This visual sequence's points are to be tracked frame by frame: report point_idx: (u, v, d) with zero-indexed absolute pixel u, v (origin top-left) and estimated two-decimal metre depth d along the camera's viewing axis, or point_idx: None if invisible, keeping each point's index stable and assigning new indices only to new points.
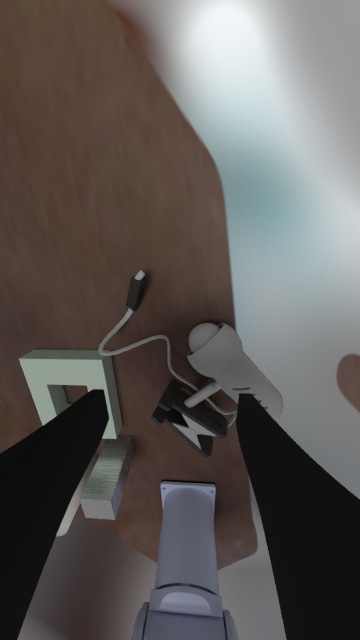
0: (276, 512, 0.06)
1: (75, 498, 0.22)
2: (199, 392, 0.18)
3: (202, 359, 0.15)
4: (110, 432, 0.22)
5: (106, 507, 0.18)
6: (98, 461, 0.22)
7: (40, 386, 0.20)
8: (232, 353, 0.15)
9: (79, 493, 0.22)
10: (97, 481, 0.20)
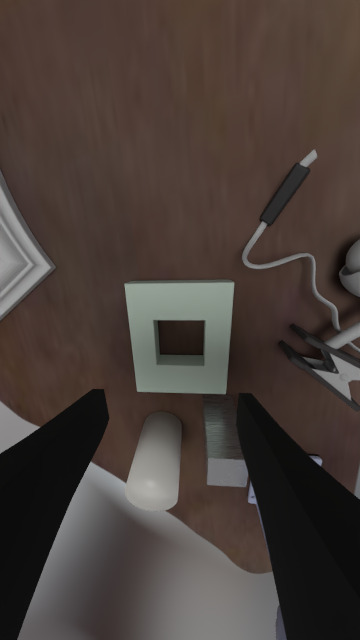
0: (276, 512, 0.06)
1: (177, 465, 0.18)
2: (352, 328, 0.14)
3: None
4: (220, 385, 0.18)
5: (240, 470, 0.14)
6: (207, 420, 0.18)
7: (144, 323, 0.16)
8: None
9: (179, 461, 0.18)
10: (218, 439, 0.16)
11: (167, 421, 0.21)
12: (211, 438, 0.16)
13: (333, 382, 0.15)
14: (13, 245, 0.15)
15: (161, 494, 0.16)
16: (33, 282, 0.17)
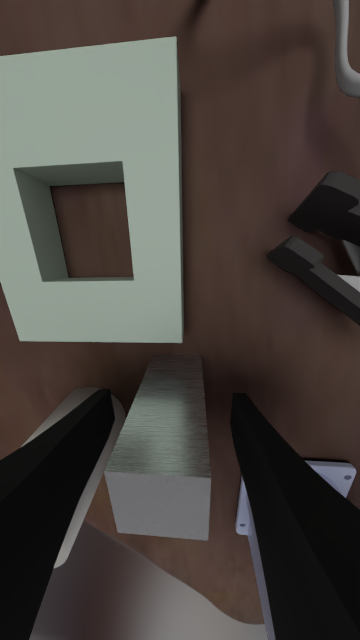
0: (266, 511, 0.06)
1: None
2: None
3: None
4: (169, 324, 0.09)
5: (190, 501, 0.06)
6: (141, 391, 0.09)
7: None
8: None
9: (95, 467, 0.10)
10: (149, 427, 0.07)
11: None
12: (134, 424, 0.07)
13: None
14: None
15: None
16: None
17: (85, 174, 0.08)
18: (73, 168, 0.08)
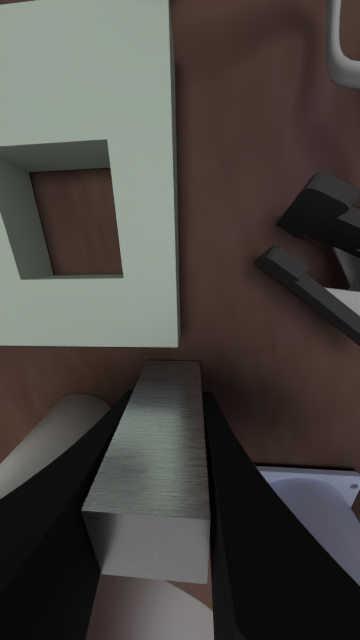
0: (211, 507, 0.06)
1: None
2: None
3: None
4: (163, 326, 0.08)
5: (185, 544, 0.05)
6: (132, 403, 0.08)
7: None
8: None
9: None
10: (139, 449, 0.06)
11: (83, 411, 0.11)
12: (121, 446, 0.06)
13: None
14: None
15: None
16: None
17: (66, 157, 0.07)
18: (51, 149, 0.07)
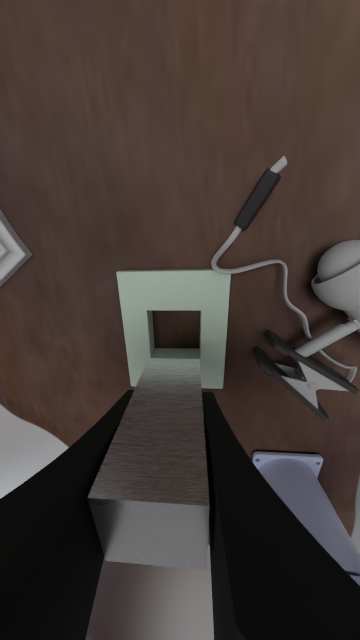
0: (211, 507, 0.06)
1: None
2: (322, 336, 0.14)
3: None
4: (216, 379, 0.17)
5: (186, 530, 0.05)
6: (134, 399, 0.08)
7: (137, 313, 0.16)
8: None
9: None
10: (141, 442, 0.06)
11: None
12: (124, 439, 0.06)
13: (301, 390, 0.15)
14: None
15: None
16: (7, 269, 0.16)
17: None
18: None
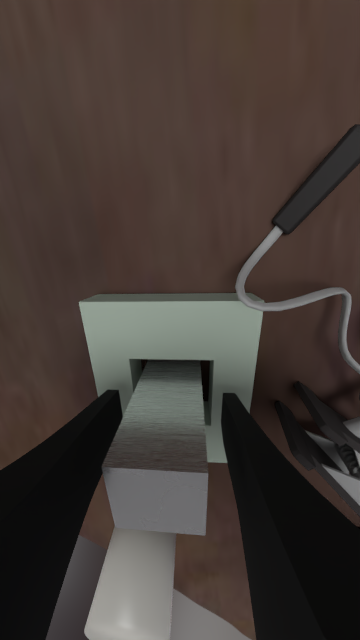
0: (249, 510, 0.06)
1: (170, 575, 0.12)
2: None
3: None
4: None
5: (187, 497, 0.06)
6: (139, 388, 0.09)
7: (115, 363, 0.10)
8: None
9: (173, 563, 0.12)
10: (147, 423, 0.07)
11: None
12: (131, 420, 0.07)
13: (352, 491, 0.10)
14: None
15: None
16: None
17: None
18: None
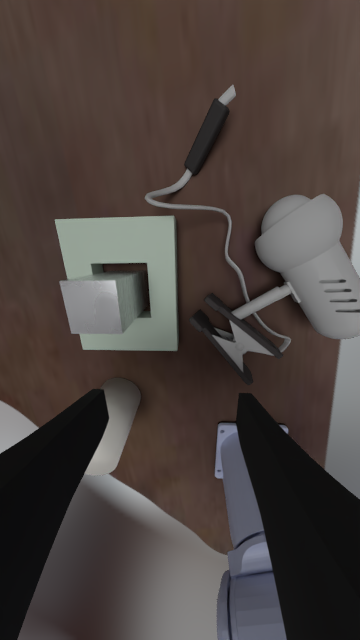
0: (276, 512, 0.06)
1: (124, 428, 0.16)
2: (257, 298, 0.14)
3: (296, 224, 0.11)
4: (170, 340, 0.17)
5: (107, 301, 0.10)
6: (94, 274, 0.14)
7: (81, 267, 0.15)
8: (339, 223, 0.11)
9: (127, 424, 0.17)
10: (92, 277, 0.12)
11: (122, 386, 0.20)
12: (83, 277, 0.12)
13: (229, 351, 0.14)
14: None
15: (100, 455, 0.15)
16: None
17: None
18: (121, 262, 0.15)
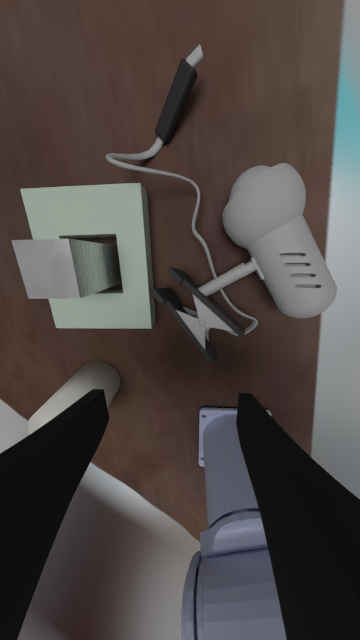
0: (276, 512, 0.06)
1: None
2: (222, 274, 0.14)
3: (256, 192, 0.10)
4: (143, 317, 0.16)
5: (62, 261, 0.10)
6: None
7: None
8: (299, 193, 0.10)
9: None
10: None
11: (99, 368, 0.19)
12: None
13: (192, 327, 0.14)
14: None
15: None
16: None
17: (96, 235, 0.15)
18: (90, 235, 0.14)
